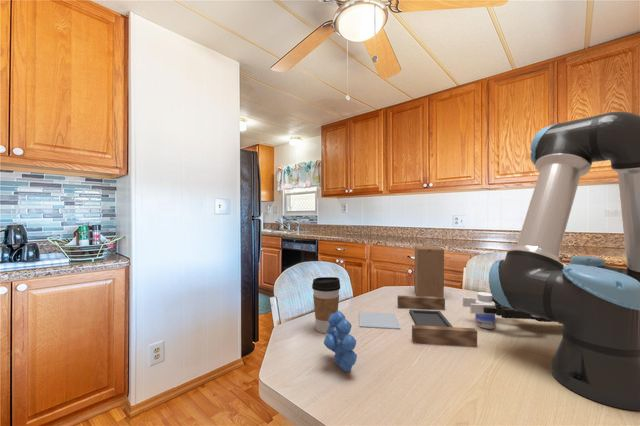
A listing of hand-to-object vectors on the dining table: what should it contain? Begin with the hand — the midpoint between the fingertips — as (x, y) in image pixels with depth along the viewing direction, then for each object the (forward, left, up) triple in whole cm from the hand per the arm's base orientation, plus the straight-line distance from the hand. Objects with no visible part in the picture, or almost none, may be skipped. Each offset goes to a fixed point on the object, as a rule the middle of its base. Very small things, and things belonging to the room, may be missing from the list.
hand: (467, 305), depth 88 cm
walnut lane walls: (-4, +10, -6) cm, 12 cm away
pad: (-9, +25, -6) cm, 27 cm away
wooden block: (+26, +14, -6) cm, 30 cm away
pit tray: (-4, +10, -6) cm, 12 cm away
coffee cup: (-23, +37, -6) cm, 44 cm away
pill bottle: (+2, -5, -6) cm, 8 cm away
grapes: (-40, +26, -6) cm, 48 cm away
